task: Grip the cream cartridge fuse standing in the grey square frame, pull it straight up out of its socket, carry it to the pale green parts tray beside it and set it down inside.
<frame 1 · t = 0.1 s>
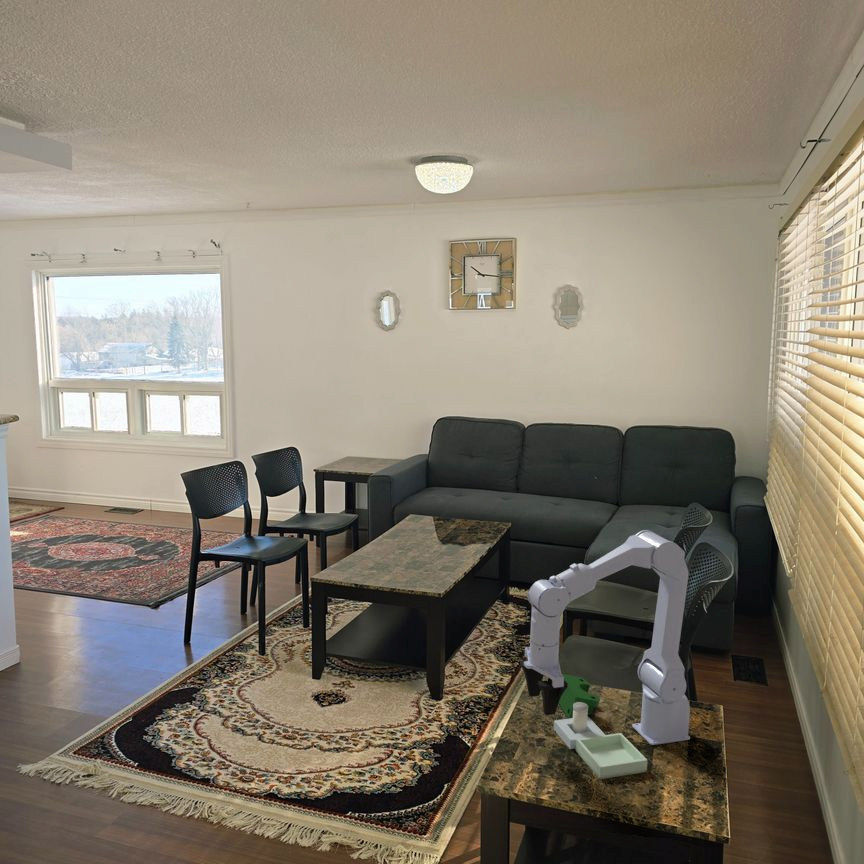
hand: (541, 704, 157), 10 cm above the table, tool pointing down, fingers open, 7 cm apart
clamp: (576, 709, 176), on the table
fuse: (579, 721, 163), in the grey square frame
grey square frame: (578, 736, 164), on the table
parts tray: (610, 760, 155), on the table
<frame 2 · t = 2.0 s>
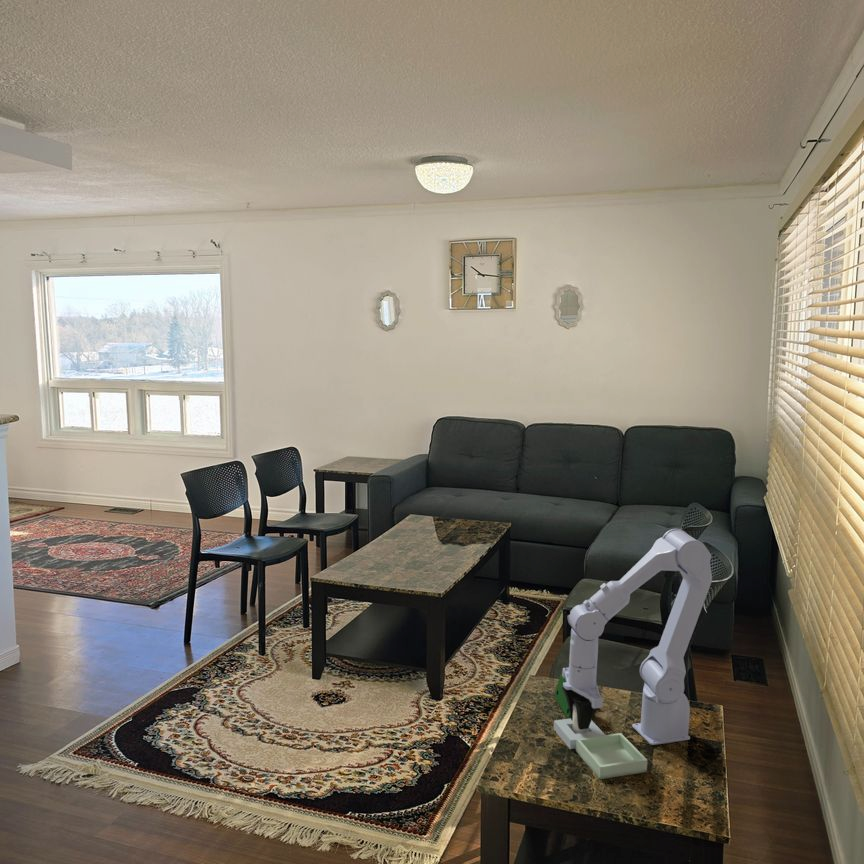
hand: (579, 723, 163), 3 cm above the table, tool pointing down, fingers closed on fuse, 3 cm apart
fuse: (579, 721, 163), in the grey square frame, touching gripper
everything else where it was.
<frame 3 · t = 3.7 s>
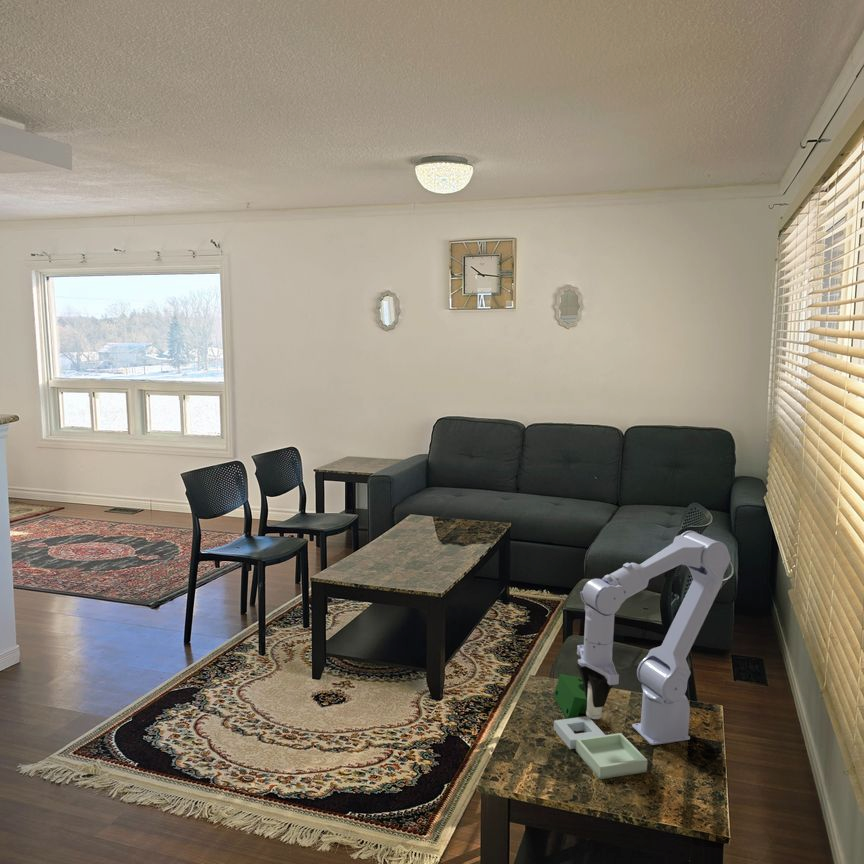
hand: (594, 702, 159), 10 cm above the table, tool pointing down, fingers closed on fuse, 3 cm apart
fuse: (594, 699, 158), point 10 cm above the table, touching gripper
everything else where it was.
when the fingers open (5 cm above the table, at t = 5.3 s): fuse drops 1 cm, resting on parts tray.
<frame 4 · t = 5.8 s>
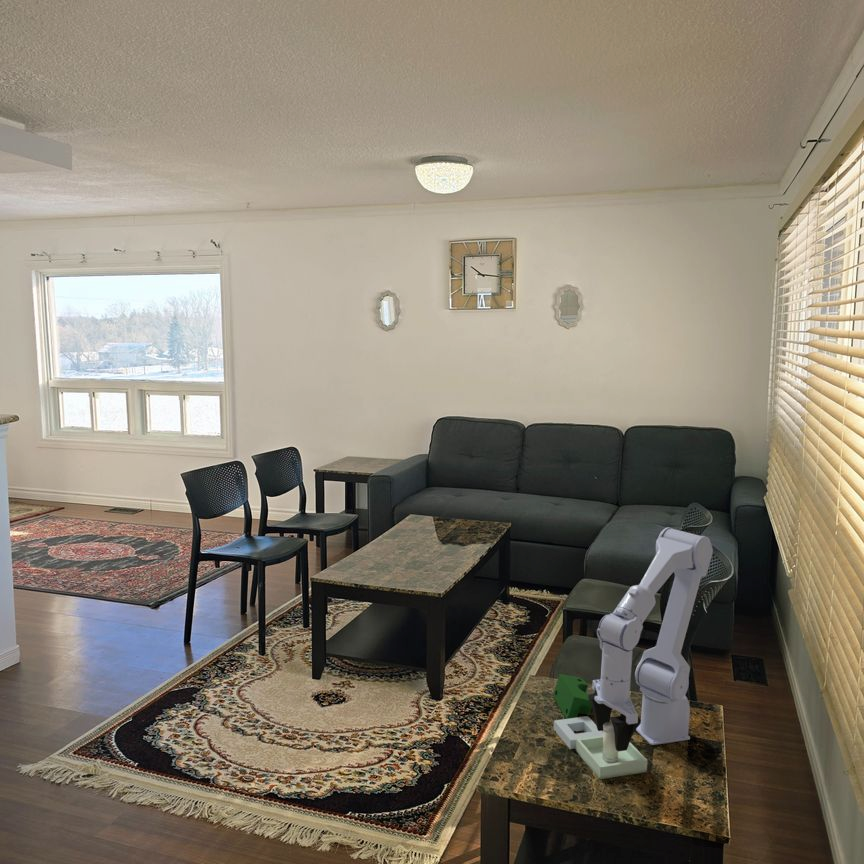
hand: (611, 739, 154), 5 cm above the table, tool pointing down, fingers open, 7 cm apart
fuse: (610, 742, 154), in the parts tray
everything else where it was.
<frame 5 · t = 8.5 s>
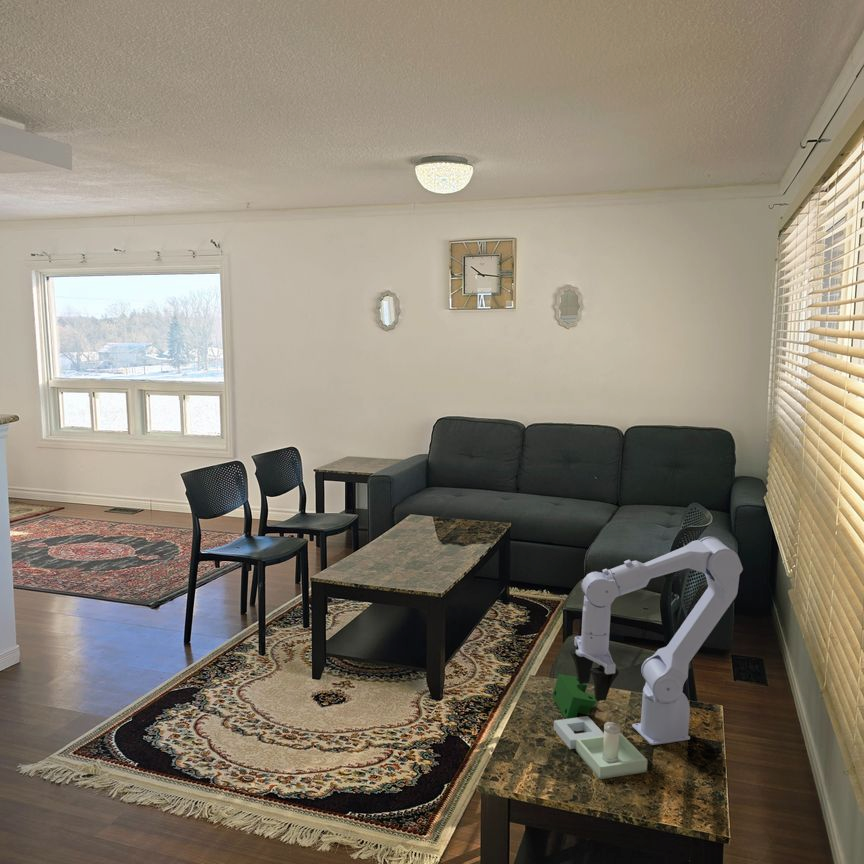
hand: (592, 691, 164), 9 cm above the table, tool pointing down, fingers open, 7 cm apart
nothing on the table moved.
at the end: fuse inside the target area on the parts tray (0.1 cm from its centre), point 4.0 cm above the parts tray's base; the gripper is holding nothing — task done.
